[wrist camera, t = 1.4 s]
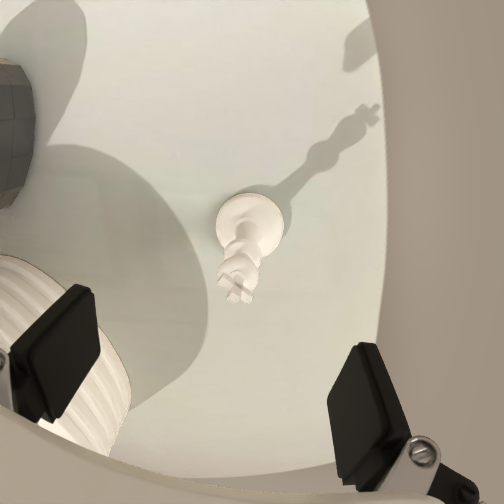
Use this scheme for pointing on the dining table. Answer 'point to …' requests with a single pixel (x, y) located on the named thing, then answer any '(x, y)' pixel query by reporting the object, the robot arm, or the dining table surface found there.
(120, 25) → the dining table surface
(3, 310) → the plate stack
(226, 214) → the chess piece
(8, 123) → the grey faceted round tub
